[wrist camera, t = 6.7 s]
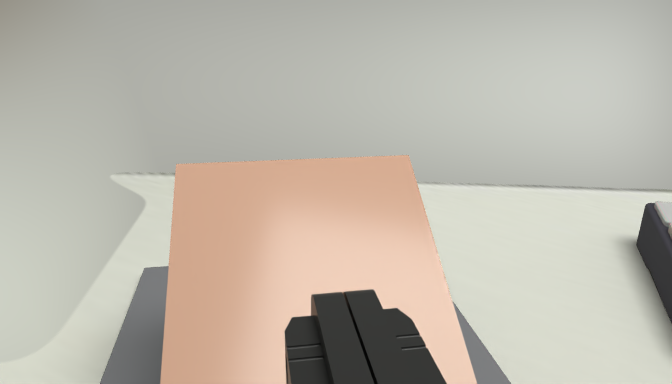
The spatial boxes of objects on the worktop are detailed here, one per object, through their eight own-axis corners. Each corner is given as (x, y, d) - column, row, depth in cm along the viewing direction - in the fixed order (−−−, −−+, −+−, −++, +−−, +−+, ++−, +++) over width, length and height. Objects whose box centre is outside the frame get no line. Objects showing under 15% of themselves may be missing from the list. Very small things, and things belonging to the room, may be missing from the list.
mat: (598, 521, 17) (600, 509, 17) (18, 615, 15) (14, 603, 14) (415, 255, 36) (415, 249, 36) (145, 274, 33) (144, 267, 33)
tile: (532, 567, 14) (408, 155, 23) (142, 636, 12) (176, 164, 21) (500, 572, 16) (398, 190, 25) (160, 632, 14) (184, 201, 23)
